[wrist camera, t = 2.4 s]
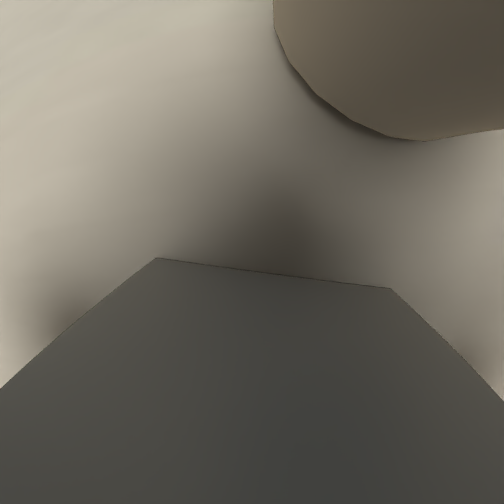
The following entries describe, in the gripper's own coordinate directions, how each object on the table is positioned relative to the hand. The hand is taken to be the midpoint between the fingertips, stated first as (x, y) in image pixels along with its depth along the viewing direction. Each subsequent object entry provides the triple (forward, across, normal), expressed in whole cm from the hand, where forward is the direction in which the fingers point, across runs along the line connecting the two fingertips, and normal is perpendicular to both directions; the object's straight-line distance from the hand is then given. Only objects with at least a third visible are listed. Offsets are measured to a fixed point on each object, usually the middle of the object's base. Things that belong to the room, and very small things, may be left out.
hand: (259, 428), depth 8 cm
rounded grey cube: (+3, 0, 0) cm, 3 cm away
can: (+3, -2, -12) cm, 13 cm away
